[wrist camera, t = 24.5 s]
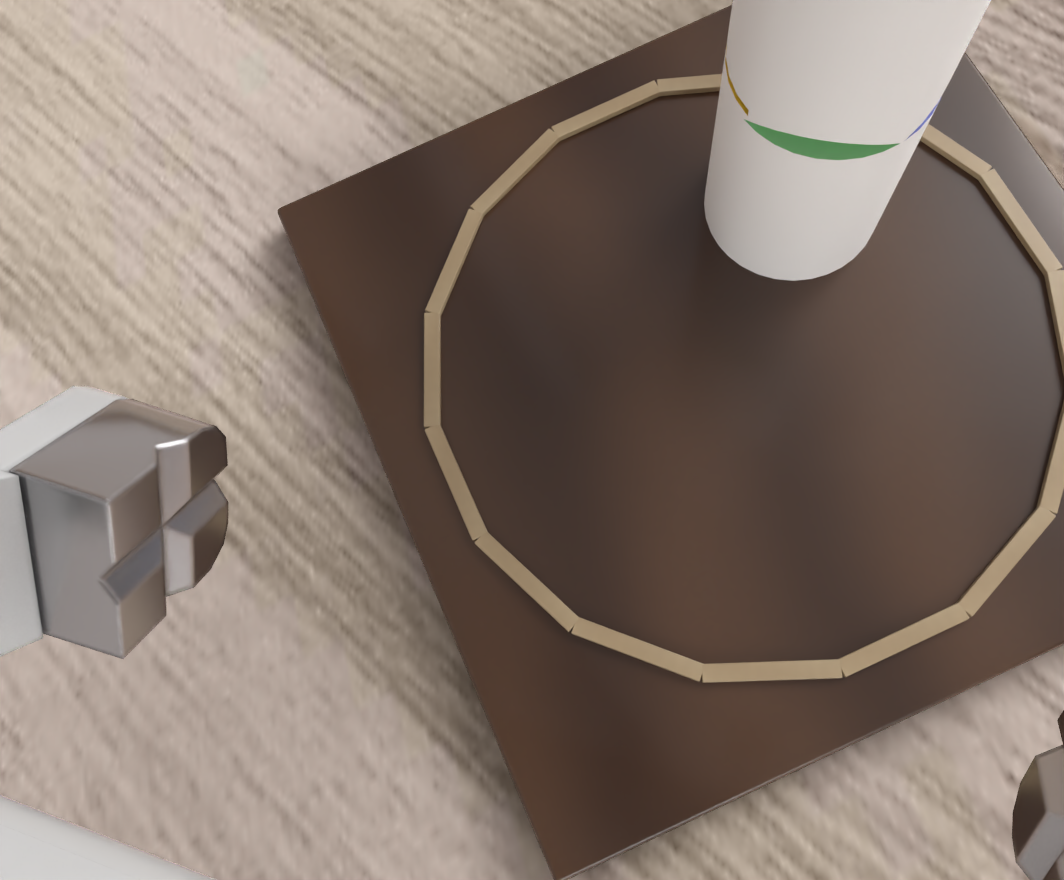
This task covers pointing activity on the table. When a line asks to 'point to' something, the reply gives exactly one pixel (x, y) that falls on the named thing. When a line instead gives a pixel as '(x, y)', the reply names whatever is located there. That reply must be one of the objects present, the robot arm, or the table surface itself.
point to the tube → (823, 122)
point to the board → (702, 436)
